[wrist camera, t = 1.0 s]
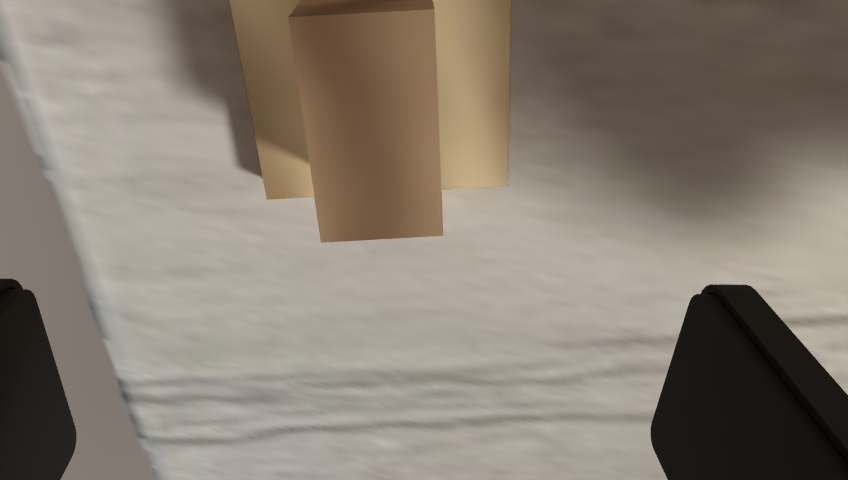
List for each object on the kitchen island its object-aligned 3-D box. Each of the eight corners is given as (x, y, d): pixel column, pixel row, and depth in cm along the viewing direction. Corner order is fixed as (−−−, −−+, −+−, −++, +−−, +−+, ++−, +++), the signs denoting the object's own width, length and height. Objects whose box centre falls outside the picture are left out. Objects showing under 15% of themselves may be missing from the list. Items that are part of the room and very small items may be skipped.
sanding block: (427, -21, 25) (434, 9, 20) (435, 169, 29) (443, 235, 24) (311, -14, 25) (287, 16, 20) (335, 175, 29) (321, 242, 24)
